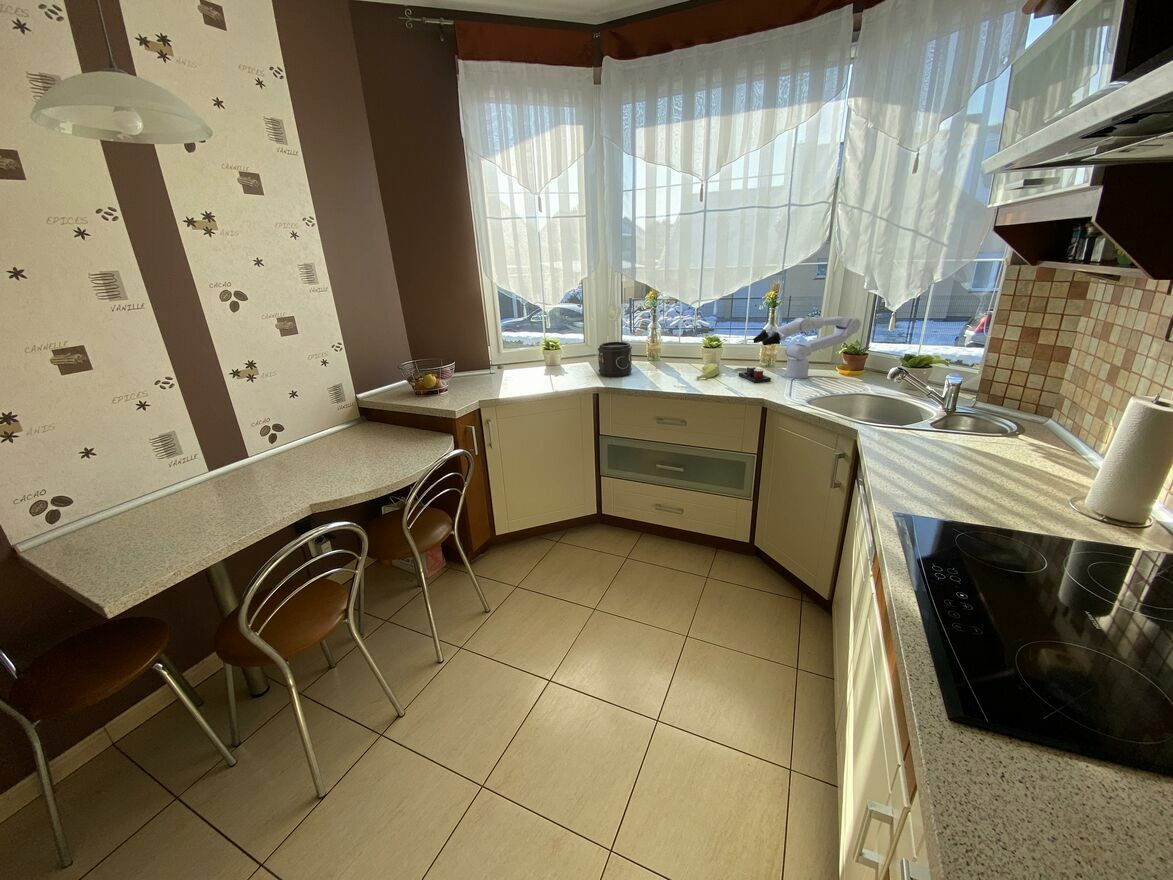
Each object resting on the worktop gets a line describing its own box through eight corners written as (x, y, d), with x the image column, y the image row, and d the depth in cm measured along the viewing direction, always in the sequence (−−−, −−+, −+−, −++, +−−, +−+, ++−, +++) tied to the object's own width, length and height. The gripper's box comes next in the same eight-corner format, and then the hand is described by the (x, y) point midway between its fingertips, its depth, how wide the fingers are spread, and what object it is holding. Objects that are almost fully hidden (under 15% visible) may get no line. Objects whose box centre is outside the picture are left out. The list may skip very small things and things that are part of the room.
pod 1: (752, 375, 235) (753, 365, 233) (757, 377, 231) (757, 367, 229) (744, 376, 234) (744, 366, 232) (748, 378, 230) (749, 368, 228)
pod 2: (759, 378, 228) (760, 368, 227) (764, 381, 224) (765, 370, 223) (751, 379, 228) (752, 369, 226) (756, 382, 224) (757, 371, 222)
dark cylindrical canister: (638, 371, 257) (638, 342, 251) (622, 379, 243) (622, 348, 237) (609, 368, 266) (608, 340, 260) (592, 375, 252) (591, 346, 246)
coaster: (746, 368, 252) (746, 367, 252) (754, 371, 244) (754, 370, 244) (731, 369, 250) (731, 368, 250) (739, 373, 243) (739, 372, 242)
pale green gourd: (725, 359, 241) (705, 371, 229) (728, 369, 243) (708, 382, 230) (702, 362, 251) (681, 375, 239) (705, 372, 253) (684, 385, 240)
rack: (738, 377, 236) (738, 372, 235) (753, 375, 237) (754, 371, 236) (754, 384, 222) (754, 379, 221) (770, 382, 223) (771, 377, 222)
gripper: (774, 321, 226) (748, 331, 225) (792, 325, 213) (765, 336, 212) (776, 335, 229) (751, 345, 228) (795, 340, 216) (768, 350, 215)
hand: (758, 342), depth 220 cm, fingers open, 7 cm apart
